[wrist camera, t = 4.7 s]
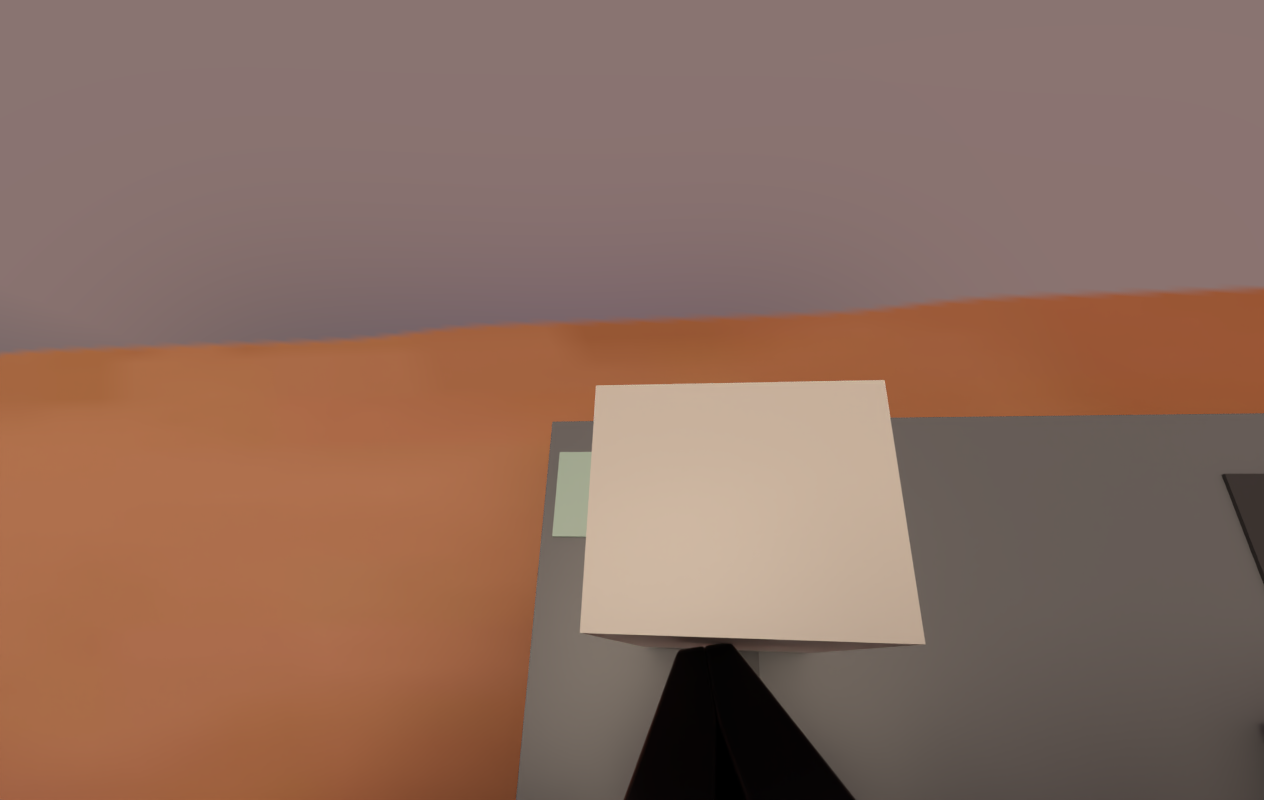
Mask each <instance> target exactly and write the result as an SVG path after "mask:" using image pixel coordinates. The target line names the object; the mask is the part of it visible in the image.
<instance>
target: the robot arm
mask: <svg viewBox="0 0 1264 800" xmlns="http://www.w3.org/2000/svg"><path fill="white" fill-rule="evenodd" d="M624 800H856V799H855V798H854V796H853V795H852V794H851V793H850V791H849V790H848V789H847V788H846V786H845V785H844V784H843V782H842V781H841V780H840V779H839V777H838V776H837V775H836V774H835V772H834V771H833V770H832V769H831V767H830V766H829V765H828V764H827V762H826V761H825V760H824V759H823V757H822V756H821V755H820V754H819V752H818V751H817V750H816V748H815V747H814V746H813V745H812V743H811V742H810V741H809V740H808V738H807V737H806V736H805V735H804V733H803V732H802V731H801V730H800V728H799V727H798V726H797V725H796V723H795V722H794V721H793V719H792V718H791V717H790V716H789V714H788V713H787V712H786V711H785V709H784V708H783V707H782V706H781V704H780V703H779V702H778V701H777V699H776V698H775V697H774V696H773V694H772V693H771V692H770V691H769V689H768V688H767V687H766V685H765V684H764V683H763V682H762V680H761V679H760V678H759V677H758V675H757V674H756V673H755V672H754V670H753V669H752V668H751V667H750V665H749V664H748V663H747V662H746V660H745V659H744V658H743V657H742V655H741V654H740V653H739V651H738V650H737V649H736V648H735V647H734V646H733V645H732V644H724V643H721V644H714V645H708V646H706V647H703V646H699V647H693V648H686V649H680V650H679V651H678V652H677V654H676V656H675V659H674V662H673V665H672V667H671V670H670V673H669V676H668V678H667V681H666V684H665V687H664V689H663V692H662V695H661V698H660V700H659V703H658V706H657V709H656V711H655V714H654V717H653V720H652V722H651V725H650V728H649V731H648V734H647V736H646V739H645V742H644V745H643V747H642V750H641V753H640V756H639V758H638V761H637V764H636V767H635V769H634V772H633V775H632V778H631V780H630V783H629V786H628V789H627V791H626V794H625V797H624Z"/></svg>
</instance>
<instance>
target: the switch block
mask: <svg viewBox="0 0 1264 800" xmlns="http://www.w3.org/2000/svg"><path fill="white" fill-rule="evenodd" d="M890 419H891V425H892V432H893V438H894V444H895V451H896V457H897V464H898V470H899V477H900V483H901V489H902V496H903V502H904V509H905V515H906V522H907V528H908V535H909V541H910V547H911V554H912V560H913V567H914V573H915V580H916V586H917V592H918V599H919V605H920V612H921V618H922V625H923V631H924V638H925V645H912V646H898V647H885V648H872V649H858V650H845V651H832V652H819V653H798V652H770V651H742V650H738V651H739V653H740V654H741V655H742V657H743V658H744V659H745V660H746V662H747V663H748V664H749V665H750V667H751V668H752V669H753V670H754V672H755V673H756V674H757V675H758V677H759V678H760V679H761V680H762V682H763V683H764V684H765V685H766V687H767V688H768V689H769V691H770V692H771V693H772V694H773V696H774V697H775V698H776V699H777V701H778V702H779V703H780V704H781V706H782V707H783V708H784V709H785V711H786V712H787V713H788V714H789V716H790V717H791V718H792V719H793V721H794V722H795V723H796V725H797V726H798V727H799V728H800V730H801V731H802V732H803V733H804V735H805V736H806V737H807V738H808V740H809V741H810V742H811V743H812V745H813V746H814V747H815V748H816V750H817V751H818V752H819V754H820V755H821V756H822V757H823V759H824V760H825V761H826V762H827V764H828V765H829V766H830V767H831V769H832V770H833V771H834V772H835V774H836V775H837V776H838V777H839V779H840V780H841V781H842V782H843V784H844V785H845V786H846V788H847V789H848V790H849V791H850V793H851V794H852V795H853V796H854V798H855V799H856V800H1264V413H1263V414H1177V415H1092V416H1006V417H920V418H890ZM593 424H594V421H577V422H553V423H552V433H551V443H550V454H549V464H548V474H547V485H546V495H545V505H544V516H543V526H542V536H541V547H540V557H539V567H538V578H537V588H536V598H535V609H534V619H533V629H532V640H531V650H530V660H529V671H528V681H527V691H526V702H525V712H524V722H523V733H522V743H521V753H520V764H519V774H518V784H517V795H516V800H624V797H625V794H626V791H627V789H628V786H629V783H630V780H631V778H632V775H633V772H634V769H635V767H636V764H637V761H638V758H639V756H640V753H641V750H642V747H643V745H644V742H645V739H646V736H647V734H648V731H649V728H650V725H651V722H652V720H653V717H654V714H655V711H656V709H657V706H658V703H659V700H660V698H661V695H662V692H663V689H664V687H665V684H666V681H667V678H668V676H669V673H670V670H671V667H672V665H673V662H674V659H675V656H676V654H677V652H678V651H679V650H680V649H686V648H658V647H642V646H637V645H633V644H628V643H624V642H619V641H614V640H610V639H605V638H601V637H596V636H591V635H587V634H582V633H580V621H581V606H582V591H583V576H584V561H585V545H586V530H587V515H588V500H589V485H590V470H591V455H592V440H593Z"/></svg>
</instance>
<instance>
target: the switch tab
mask: <svg viewBox="0 0 1264 800" xmlns="http://www.w3.org/2000/svg"><path fill="white" fill-rule="evenodd" d="M580 633H582V634H587V635H591V636H596V637H601V638H605V639H610V640H614V641H619V642H624V643H628V644H633V645H637V646H642V647H658V648H693V647H699V646H703V647H706V646H708V645H714V644H721V643H724V644H732V645H733V646H734V647H735V648H736V649H737V650H742V651H770V652H798V653H819V652H832V651H845V650H858V649H872V648H885V647H898V646H912V645H925V638H924V631H923V625H922V618H921V612H920V605H919V599H918V592H917V586H916V580H915V573H914V567H913V560H912V554H911V547H910V541H909V535H908V528H907V522H906V515H905V509H904V502H903V496H902V489H901V483H900V477H899V470H898V464H897V457H896V451H895V444H894V438H893V432H892V425H891V419H890V412H889V406H888V399H887V393H886V387H885V380H863V381H811V382H759V383H707V384H655V385H603V386H596V394H595V409H594V424H593V440H592V455H591V470H590V485H589V500H588V515H587V530H586V545H585V561H584V576H583V591H582V606H581V621H580Z"/></svg>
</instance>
